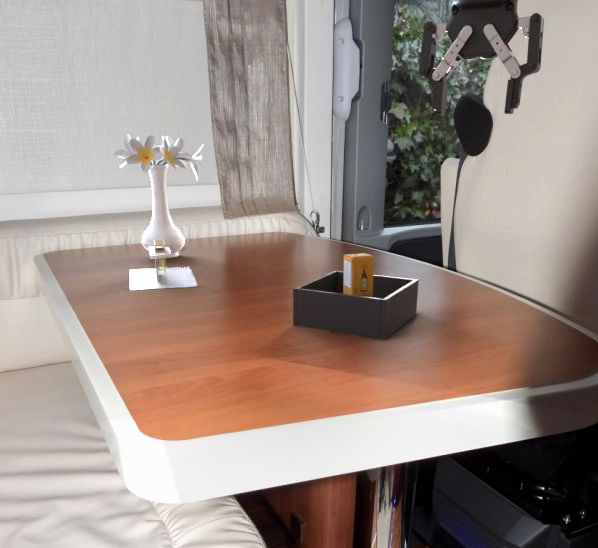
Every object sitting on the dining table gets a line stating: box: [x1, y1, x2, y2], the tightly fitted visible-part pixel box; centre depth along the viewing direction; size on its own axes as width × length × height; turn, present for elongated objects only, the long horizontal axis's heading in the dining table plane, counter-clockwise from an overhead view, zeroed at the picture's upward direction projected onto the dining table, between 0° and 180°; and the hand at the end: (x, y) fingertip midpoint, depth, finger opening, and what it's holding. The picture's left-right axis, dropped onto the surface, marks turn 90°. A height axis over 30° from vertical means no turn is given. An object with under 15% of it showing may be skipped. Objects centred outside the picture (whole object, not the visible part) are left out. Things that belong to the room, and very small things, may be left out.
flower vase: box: [113, 133, 205, 260], centre depth 137 cm, size 13×18×25 cm
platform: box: [129, 240, 199, 291], centre depth 120 cm, size 12×18×7 cm, turn 14°
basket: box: [292, 270, 420, 340], centre depth 89 cm, size 13×13×7 cm
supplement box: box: [343, 252, 375, 297], centre depth 88 cm, size 3×3×10 cm
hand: (473, 114), depth 80 cm, fingers open, 8 cm apart
